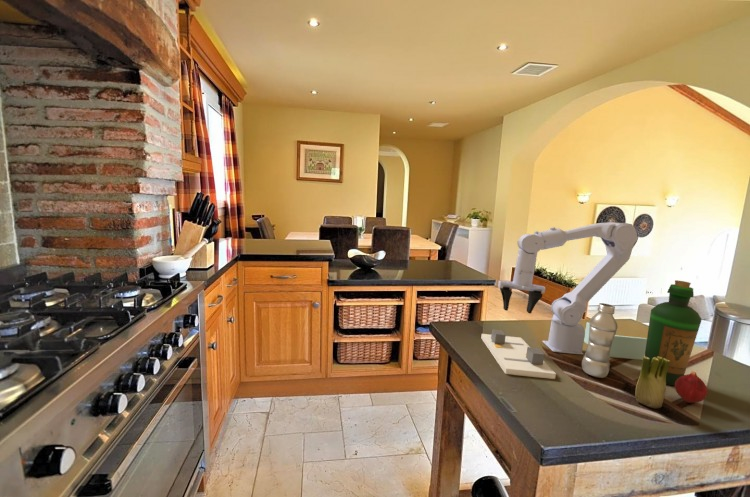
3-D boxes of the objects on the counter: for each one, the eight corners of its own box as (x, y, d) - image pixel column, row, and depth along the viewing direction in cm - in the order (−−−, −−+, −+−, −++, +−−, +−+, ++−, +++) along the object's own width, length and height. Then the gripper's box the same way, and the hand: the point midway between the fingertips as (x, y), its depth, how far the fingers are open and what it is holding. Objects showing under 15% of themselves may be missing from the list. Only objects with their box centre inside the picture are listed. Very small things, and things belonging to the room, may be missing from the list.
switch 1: (500, 339, 110) (501, 330, 109) (504, 344, 106) (505, 335, 105) (490, 338, 110) (492, 329, 109) (494, 343, 106) (496, 334, 105)
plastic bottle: (603, 372, 97) (616, 304, 94) (611, 383, 90) (625, 310, 87) (577, 366, 99) (589, 300, 96) (583, 377, 92) (596, 306, 89)
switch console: (520, 341, 114) (520, 337, 113) (555, 379, 90) (556, 373, 90) (481, 337, 114) (481, 333, 114) (505, 373, 90) (506, 367, 90)
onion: (709, 411, 81) (717, 380, 80) (682, 406, 82) (689, 375, 81) (692, 398, 86) (699, 368, 85) (666, 393, 87) (673, 364, 86)
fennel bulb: (633, 404, 81) (643, 356, 79) (631, 395, 85) (640, 349, 83) (664, 414, 78) (675, 364, 76) (660, 404, 82) (671, 357, 80)
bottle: (675, 392, 89) (699, 287, 85) (630, 372, 98) (649, 277, 94) (693, 385, 94) (717, 286, 90) (648, 366, 103) (668, 276, 99)
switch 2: (536, 358, 98) (538, 348, 97) (542, 364, 94) (544, 354, 93) (525, 357, 98) (527, 347, 97) (531, 363, 94) (533, 353, 93)
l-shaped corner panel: (642, 361, 108) (647, 339, 107) (605, 358, 108) (609, 335, 107) (616, 345, 120) (620, 325, 119) (582, 342, 120) (586, 322, 119)
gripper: (506, 270, 107) (499, 312, 108) (552, 276, 106) (544, 317, 108) (498, 266, 113) (492, 305, 115) (542, 271, 113) (535, 310, 115)
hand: (517, 311), depth 112 cm, fingers open, 7 cm apart
